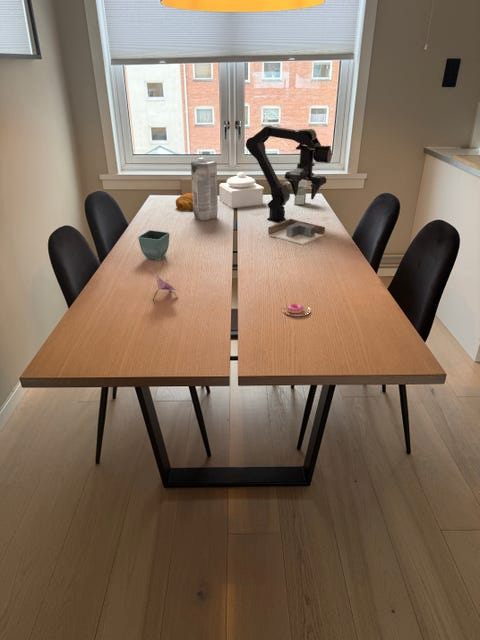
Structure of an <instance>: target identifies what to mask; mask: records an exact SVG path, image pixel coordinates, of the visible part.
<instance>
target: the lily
mask: <svg viewBox="0 0 480 640" xmlns="http://www.w3.org/2000/svg"><path fill="white" fill-rule="evenodd" d="M148 268H149V269H150V270H151V271H152V272H153V273H154V274H155V275H156V276H153V278H155V279H156V281H157V289H156V292H155V293H154V296H153V299H152V302H154V301H155V298H156V295H157V293H158V292H159V290H165V291H169V292H171V293H172V294H173V295H175V296H176V297H177V298H179V297H178V295H177V294H176V293H175V292H174V291H176V289H175V287H173V285H171V284H170V283H169V280H168V279H166V280H165V281H164V280H163V279H162V278H161V277H160V276H159V274H158V273H157V272H156V270H154V269H152V268H151V267H150V266H148Z"/></svg>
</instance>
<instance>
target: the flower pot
mask: <svg viewBox="0 0 480 640" xmlns="http://www.w3.org/2000/svg"><path fill="white" fill-rule="evenodd" d="M137 239H138V243H139V247H140V250H141V252H142V254H143V255H144V256H145V258H146V259H150V260H156V261H160V260H161V259H162V258H163V257H164V256H165V255H166V254H167V251H168V249H169V246H170V232H167V231H159V230H151V229H149V230H147V231H146V232H144V233H143V234H140V235H138V237H137Z"/></svg>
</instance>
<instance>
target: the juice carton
mask: <svg viewBox="0 0 480 640" xmlns="http://www.w3.org/2000/svg"><path fill="white" fill-rule="evenodd" d="M217 165H218V164H217V162H216V161H212V160H210V159H205V157H198V158H197V161H191V162H190V170H191V171H190V173H191V193H192V196H193V211H192V212H193V217H194V218H196V219H198V220H200V221H207V220H213V219H216V218H218V211H219V209H218V207H219V206H218V205H219V204H218V173H217V172H218V169H217V168H218V167H217Z"/></svg>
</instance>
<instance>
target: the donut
mask: <svg viewBox="0 0 480 640" xmlns="http://www.w3.org/2000/svg"><path fill="white" fill-rule="evenodd" d="M308 309H309V313H307V312H306V313H307V314H306V313H304V314H305V315H302V314H301V313H303V311H304V305H303V304H302V305H301V304H298V303H290V304H288V305H287V307H286V310H288V311H289V313H288V311H287V312H286V311H285V312H286V313H285V312H284V311H283V310H282V312H283V313H284V314H286V315H289V316H293V317H304V316H306V315H308V314H310V313H311V311H312V310H311V308H309V307H308ZM308 309H307V310H308ZM290 312H291V313H290ZM287 313H288V314H287ZM293 313H298V314H293ZM290 314H292V315H290Z"/></svg>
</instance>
